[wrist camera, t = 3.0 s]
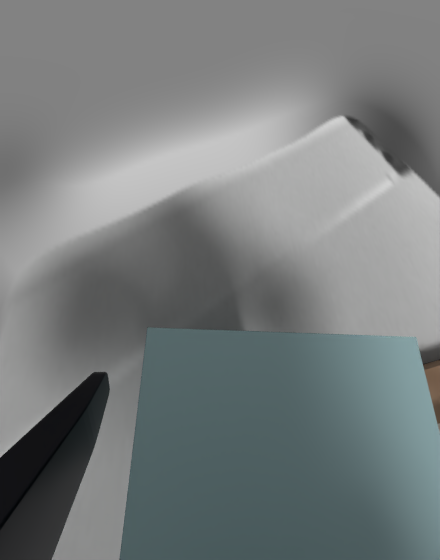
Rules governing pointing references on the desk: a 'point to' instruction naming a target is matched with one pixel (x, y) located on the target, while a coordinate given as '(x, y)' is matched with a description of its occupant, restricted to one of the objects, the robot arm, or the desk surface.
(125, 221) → the desk surface
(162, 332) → the pale blue tall block
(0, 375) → the desk surface
